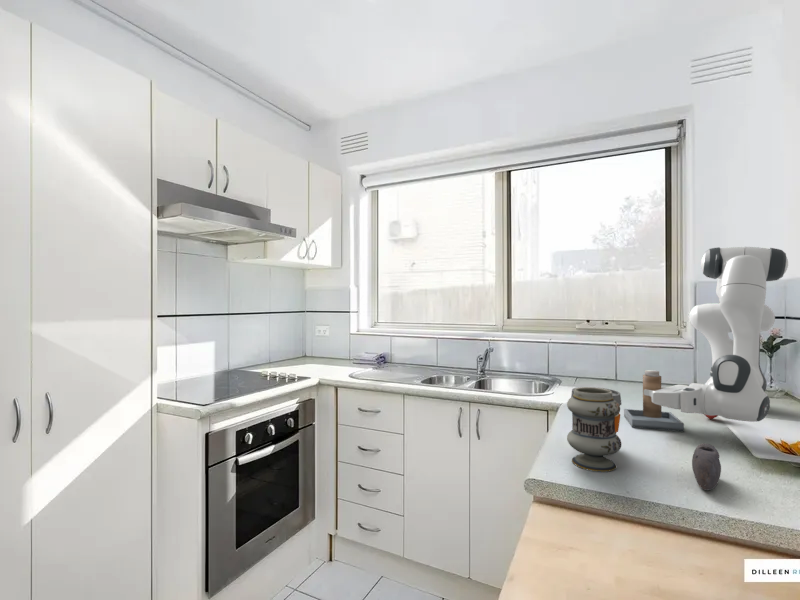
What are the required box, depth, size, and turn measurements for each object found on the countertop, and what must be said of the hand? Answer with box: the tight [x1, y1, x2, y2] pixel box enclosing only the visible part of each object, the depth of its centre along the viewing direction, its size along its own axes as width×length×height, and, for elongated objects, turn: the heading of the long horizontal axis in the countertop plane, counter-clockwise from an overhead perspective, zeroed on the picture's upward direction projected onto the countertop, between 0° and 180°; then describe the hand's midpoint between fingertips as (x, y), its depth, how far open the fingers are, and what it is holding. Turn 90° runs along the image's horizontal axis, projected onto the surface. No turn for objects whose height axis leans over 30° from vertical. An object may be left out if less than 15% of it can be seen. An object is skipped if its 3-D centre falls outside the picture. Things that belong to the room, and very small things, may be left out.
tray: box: [623, 408, 685, 433], centre depth 138 cm, size 14×14×2 cm
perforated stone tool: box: [691, 442, 722, 491], centre depth 93 cm, size 15×5×7 cm, turn 142°
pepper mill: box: [642, 369, 663, 418], centre depth 138 cm, size 5×5×14 cm
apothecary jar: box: [566, 386, 622, 473], centre depth 104 cm, size 12×12×18 cm
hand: (649, 390), depth 139 cm, fingers closed on pepper mill, 5 cm apart
